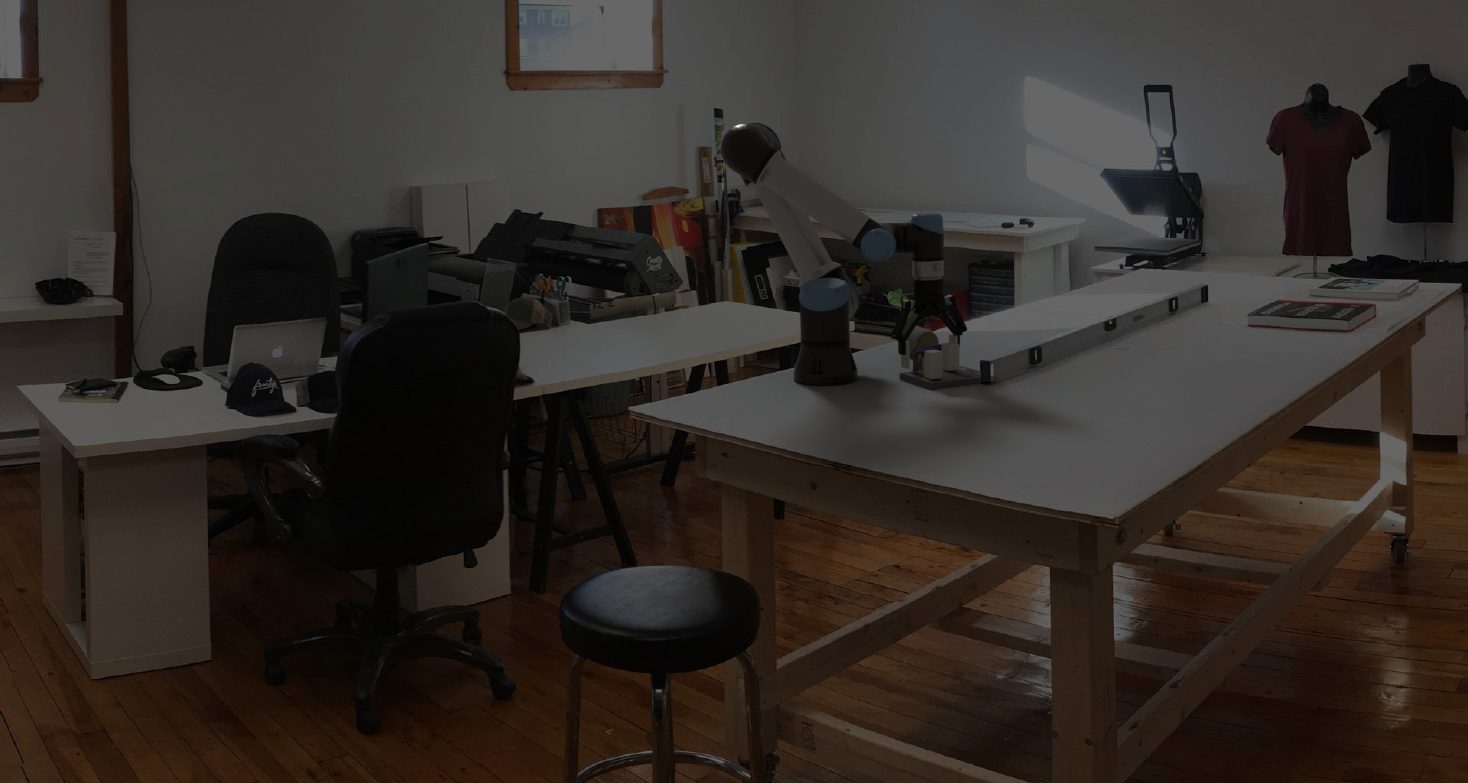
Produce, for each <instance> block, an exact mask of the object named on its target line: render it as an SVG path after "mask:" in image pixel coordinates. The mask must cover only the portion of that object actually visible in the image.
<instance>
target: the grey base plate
mask: <svg viewBox="0 0 1468 783" xmlns="http://www.w3.org/2000/svg"><path fill="white" fill-rule="evenodd" d="M981 372H982V371H981V370H977V369H973V368H971V367H966V366H964V365H959V370H951V371H947V370H944V369H942V378H936V379H929V378H926V377H924V370H920V371H913V370H912V371H906V372H905V371H904V372H899V380H900V381H903V382H906V383H910V384H913V385H916V386H918V387H922V388H924V389H928V390H930V391H934V390H941V389H948V388H949V389H950V388H951V389H952V388H957V387H965V386H973V385H980V384H981ZM981 385H982V384H981Z"/></svg>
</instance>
